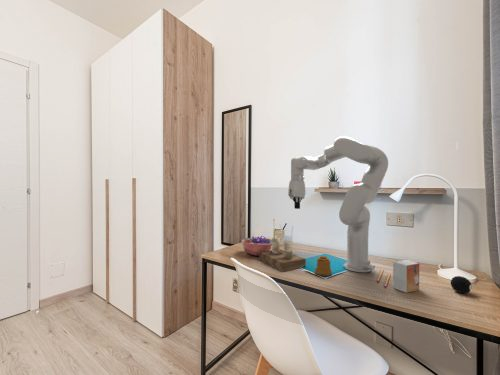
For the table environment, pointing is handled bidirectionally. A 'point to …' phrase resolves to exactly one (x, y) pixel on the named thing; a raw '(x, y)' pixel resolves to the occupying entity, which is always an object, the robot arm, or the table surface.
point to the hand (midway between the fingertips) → (297, 208)
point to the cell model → (256, 245)
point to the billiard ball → (461, 284)
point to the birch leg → (275, 246)
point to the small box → (406, 275)
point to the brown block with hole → (283, 258)
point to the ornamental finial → (323, 266)
